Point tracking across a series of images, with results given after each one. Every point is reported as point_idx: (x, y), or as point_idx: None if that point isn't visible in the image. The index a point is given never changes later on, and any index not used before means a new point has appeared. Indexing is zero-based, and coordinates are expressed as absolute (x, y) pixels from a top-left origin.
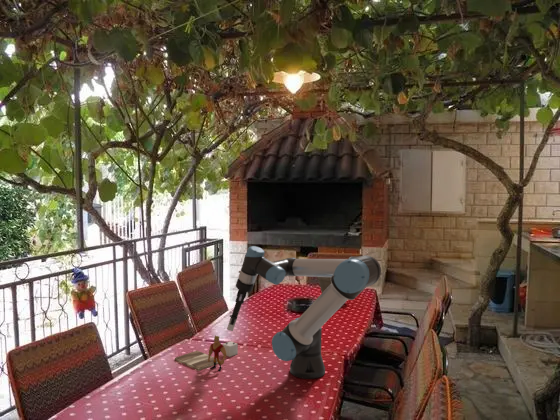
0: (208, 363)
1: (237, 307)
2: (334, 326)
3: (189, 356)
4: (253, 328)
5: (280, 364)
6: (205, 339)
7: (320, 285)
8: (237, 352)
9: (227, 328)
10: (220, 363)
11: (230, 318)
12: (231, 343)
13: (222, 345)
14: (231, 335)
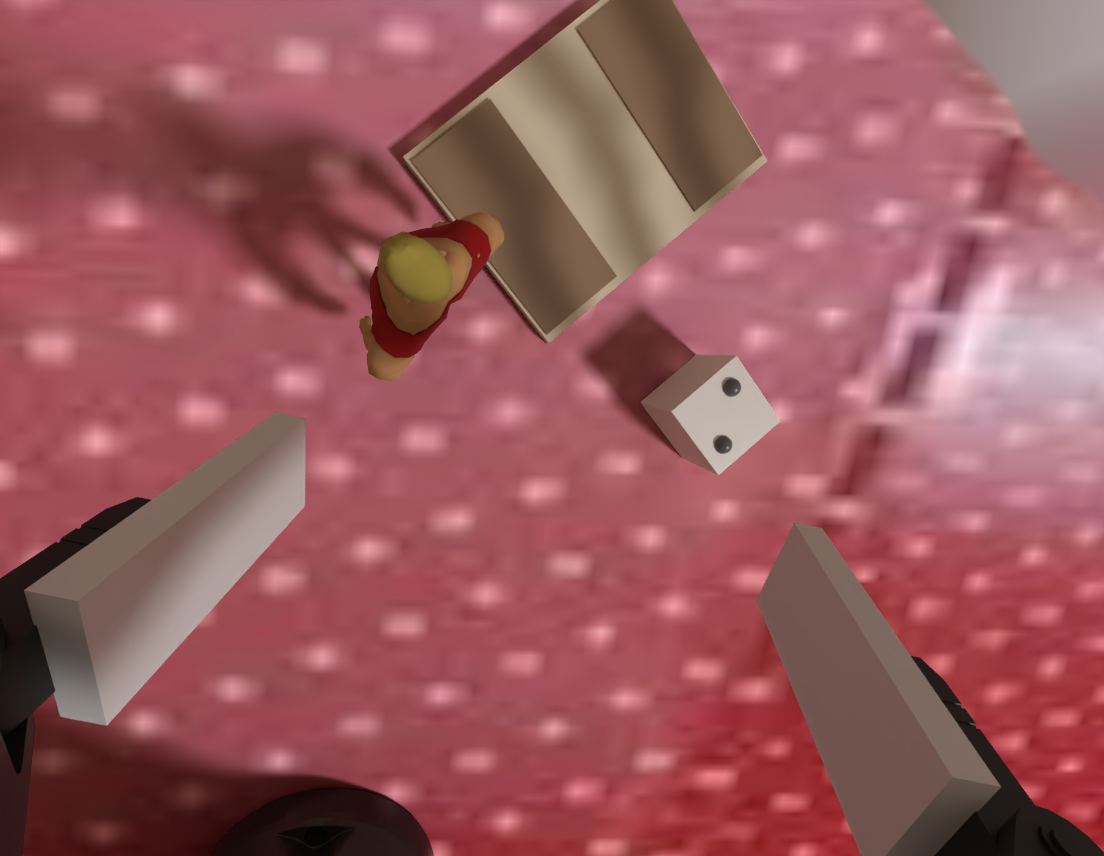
0: None
1: None
2: None
3: (654, 88)
4: (1090, 567)
5: (463, 728)
6: (986, 236)
7: None
8: (685, 458)
9: (264, 426)
10: (360, 325)
11: (89, 548)
12: (732, 426)
13: (393, 343)
14: (1012, 422)
